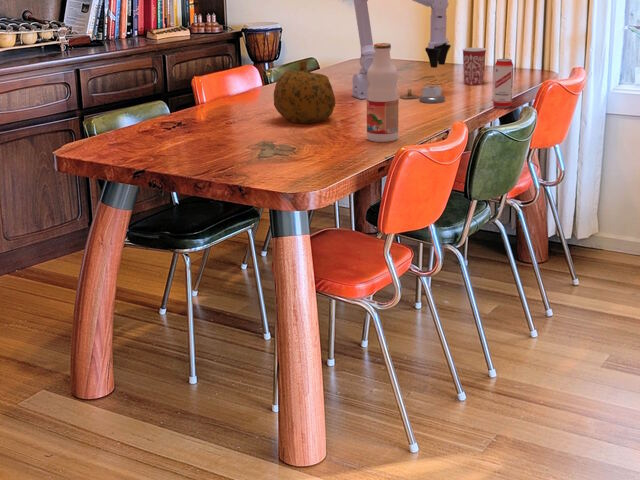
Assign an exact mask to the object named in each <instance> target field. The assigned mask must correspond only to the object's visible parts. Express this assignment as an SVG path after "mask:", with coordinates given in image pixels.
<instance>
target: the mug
mask: <svg viewBox="0 0 640 480" xmlns="http://www.w3.org/2000/svg"><path fill="white" fill-rule="evenodd" d="M486 53H487V49H486V48H485V47H484V48H483V47H466V48H463V49H462V58H463V59H462V63H463V84H464V85H466V86H481V85H483V83H484V82H483V81H484V72H485V63H486V62H485V60H486Z"/></svg>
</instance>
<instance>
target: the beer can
mask: <svg viewBox="0 0 640 480" xmlns="http://www.w3.org/2000/svg"><path fill="white" fill-rule="evenodd" d="M512 60H513V59H510V58H499V59H496V62H495V63H494V75H493V95H492V96H493V97H492V98H493V101H492V104H493V106H494V107H495V108H497V109H508V108H510V107H511V106H512V104H513V83H514V81H513V79H514V77H513V76H514V63H513V61H512Z"/></svg>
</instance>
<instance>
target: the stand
mask: <svg viewBox="0 0 640 480" xmlns="http://www.w3.org/2000/svg"><path fill="white" fill-rule="evenodd" d="M399 99H402V100H417V99H420V95H419V94H412V89H411V88H408V89H407V94H406V93H405V94H401V95H399Z"/></svg>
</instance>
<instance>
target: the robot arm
mask: <svg viewBox="0 0 640 480" xmlns="http://www.w3.org/2000/svg"><path fill="white" fill-rule="evenodd" d="M368 1H369V0H353V4H354V11H355V19H356V26H357V31H358V38H359V45H360V57H359V64H360V66H361V69H359V72H358V73H353V75H352V94H351V96H352V97H354V98H357V99H359V100H363V99H365V100H367V98H366V97H367V89H368V86H369V83H368V80H367V71H368V69H369V67H370V66H371V65H372V63H373V60H374V57H375V50H374V41H373V35H372V34H373V33H372V28H371V22H370V14H369V13H370V12H369V8H368V7H369V6H368ZM412 2H415V3H418V4H420V5H423V6H425V7H429V8H431V11H430V13H431V14H430V32H429V33H430V35H429V38H430V40H429V42H428V43H427V47H425V52H426V54H427V56H428V61H429V65H430V68H433V69H434V68H436V69H437V68H438V65H441V66H442V65H443V66H445V63H446V60H447V56H448V52H449V51H450V48H451V47H452V46H451V44H449V43H450V40H449V39H448V37H447V19H448V18H447V9H448V7H449V1H448V0H412Z"/></svg>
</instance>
